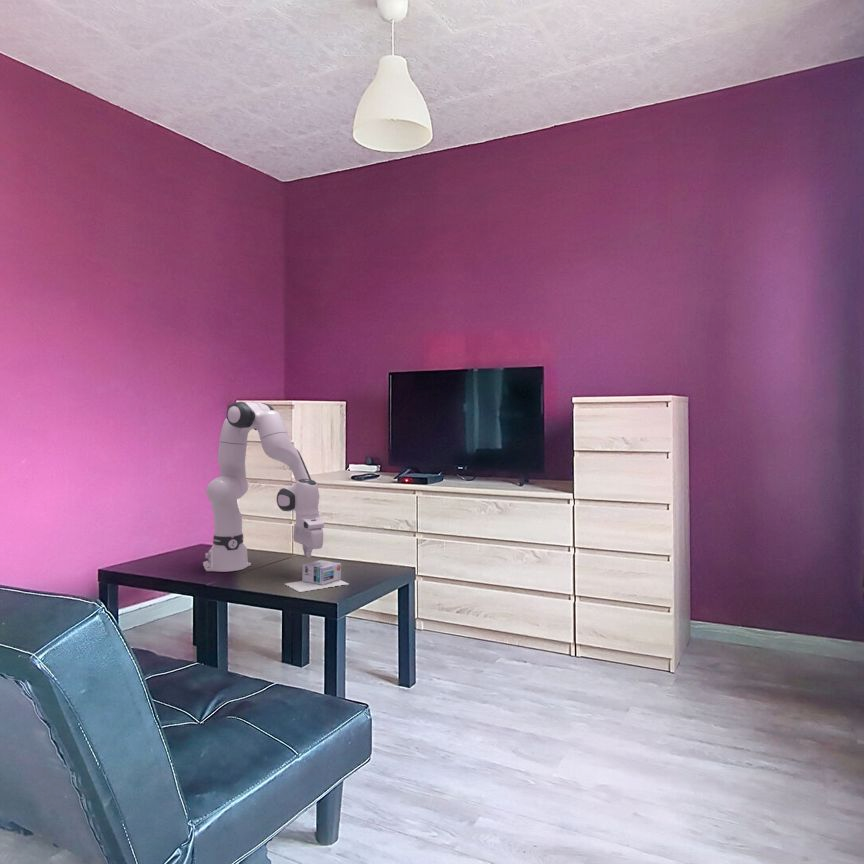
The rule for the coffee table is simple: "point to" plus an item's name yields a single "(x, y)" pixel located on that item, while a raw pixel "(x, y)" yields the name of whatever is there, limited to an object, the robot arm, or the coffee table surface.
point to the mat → (313, 585)
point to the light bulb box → (321, 572)
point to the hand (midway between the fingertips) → (307, 556)
